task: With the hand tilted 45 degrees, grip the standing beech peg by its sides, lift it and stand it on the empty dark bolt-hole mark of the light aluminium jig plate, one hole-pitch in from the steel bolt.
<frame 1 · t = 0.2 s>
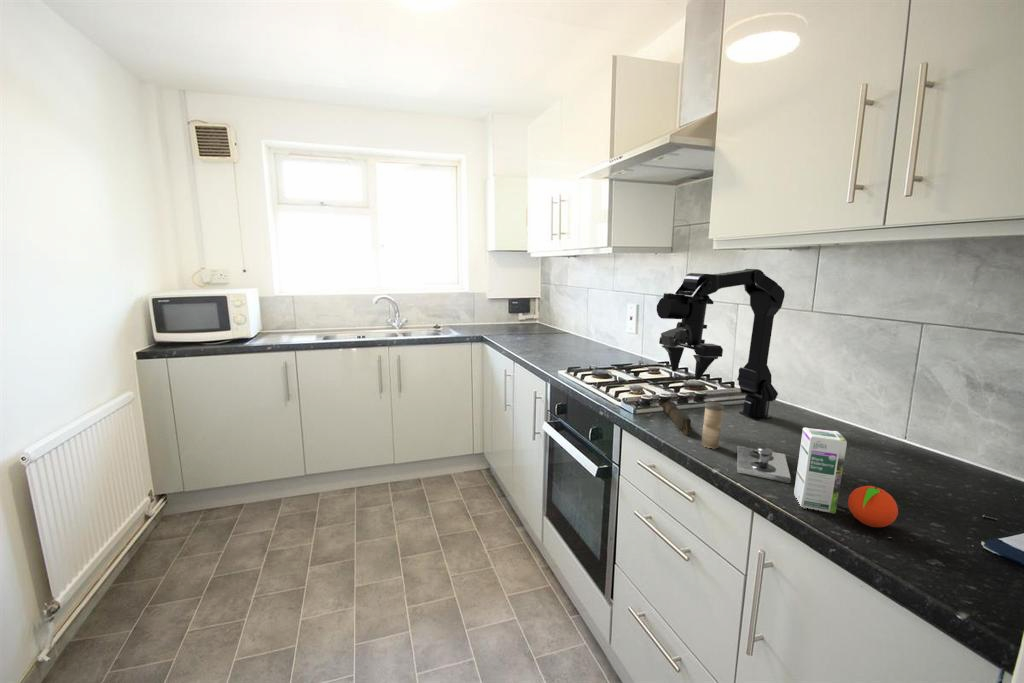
hand: (685, 375, 123), 15 cm above the worktop, tool pointing down, fingers open, 9 cm apart
jig plate: (761, 465, 102), on the worktop
syrup box: (813, 504, 86), on the worktop
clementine: (867, 525, 79), on the worktop
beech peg: (709, 445, 112), on the worktop
hand tool: (679, 425, 127), on the worktop
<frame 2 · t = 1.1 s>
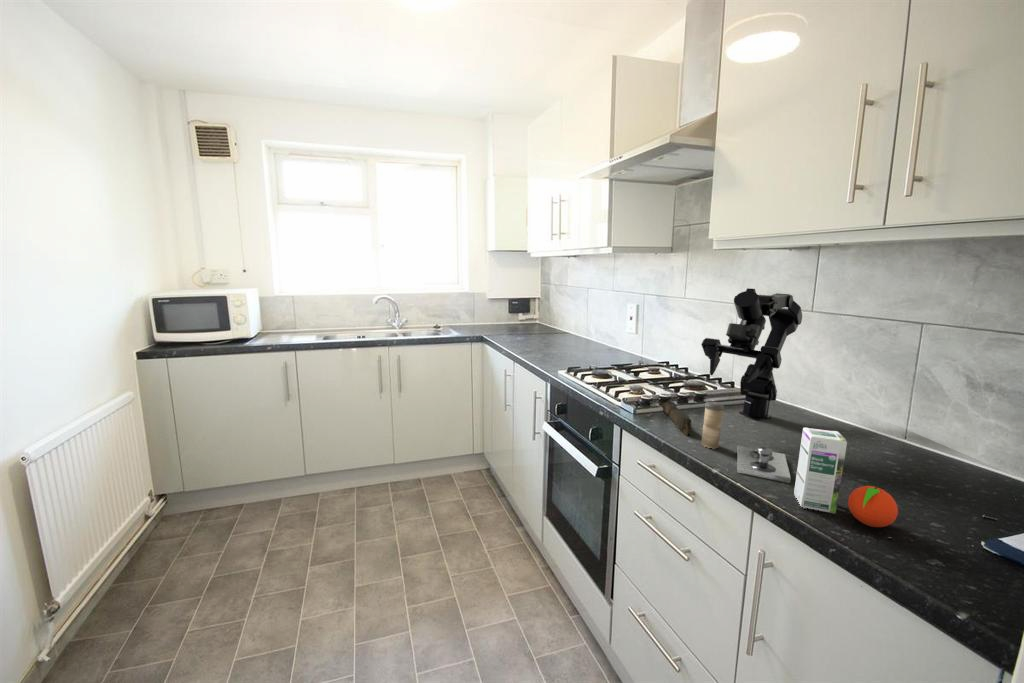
hand: (728, 377, 115), 16 cm above the worktop, tool tilted 45°, fingers open, 9 cm apart
nothing on the worktop moved.
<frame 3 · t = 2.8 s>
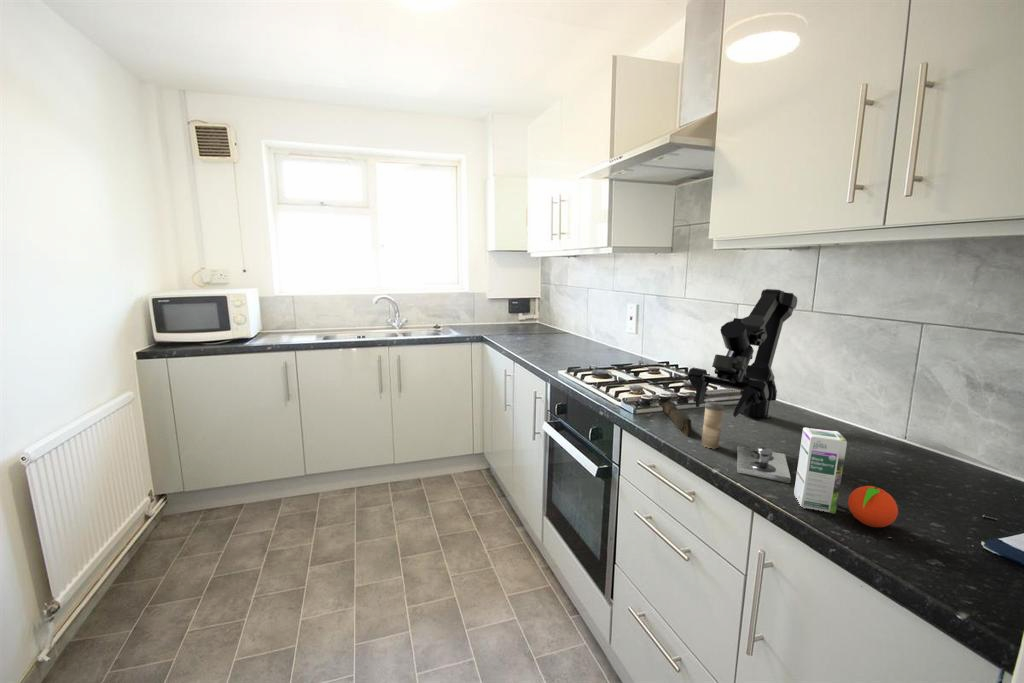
hand: (714, 410, 111), 9 cm above the worktop, tool tilted 45°, fingers open, 9 cm apart
nothing on the worktop moved.
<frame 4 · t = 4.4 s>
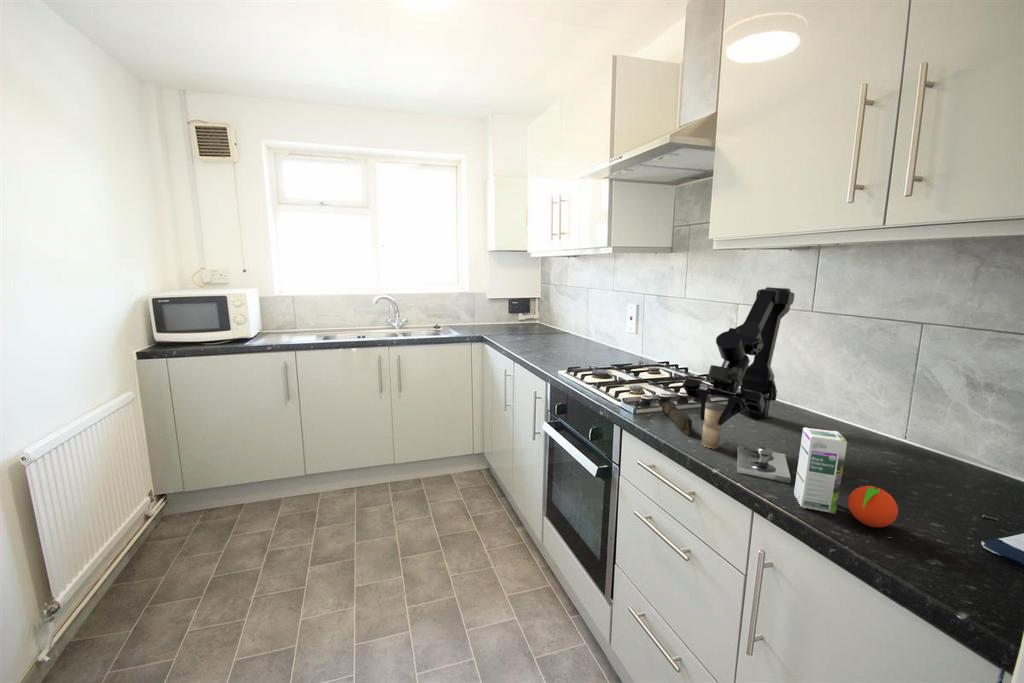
hand: (710, 422, 110), 7 cm above the worktop, tool tilted 45°, fingers closed on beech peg, 4 cm apart
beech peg: (709, 445, 112), on the worktop, touching gripper
everything else where it was.
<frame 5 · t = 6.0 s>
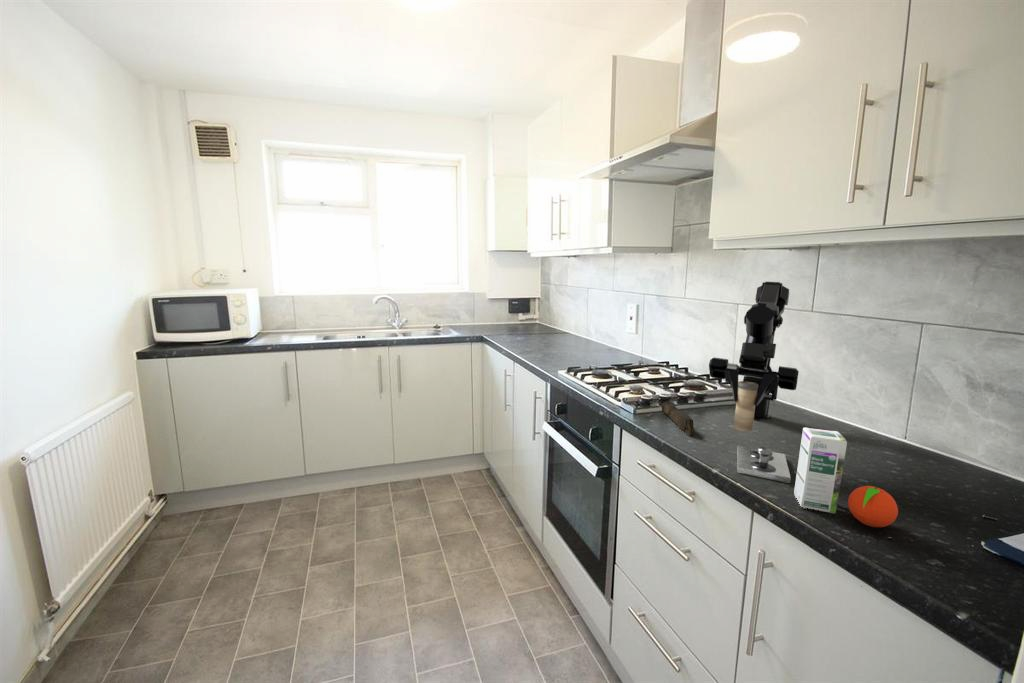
hand: (745, 403, 103), 14 cm above the worktop, tool tilted 45°, fingers closed on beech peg, 4 cm apart
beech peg: (742, 428, 106), point 7 cm above the worktop, touching gripper
everything else where it was.
when the fingers open (9 cm above the worktop, at t = 7.6 s): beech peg drops 1 cm, resting on jig plate.
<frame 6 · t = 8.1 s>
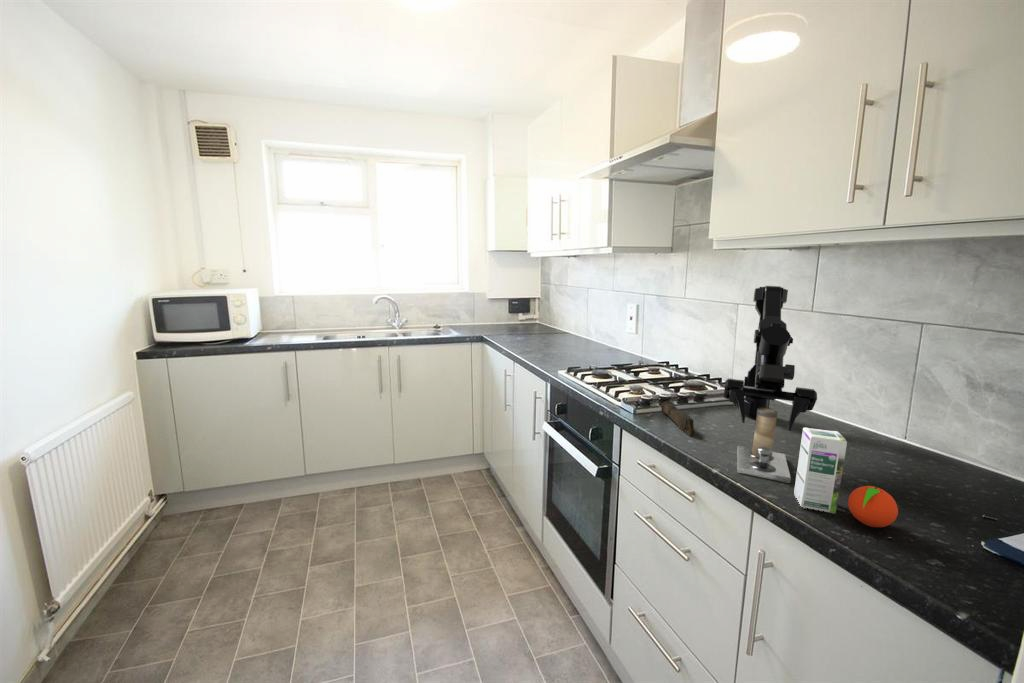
hand: (766, 426, 102), 9 cm above the worktop, tool tilted 45°, fingers open, 9 cm apart
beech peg: (761, 455, 104), point 1 cm above the worktop, touching jig plate
everything else where it was.
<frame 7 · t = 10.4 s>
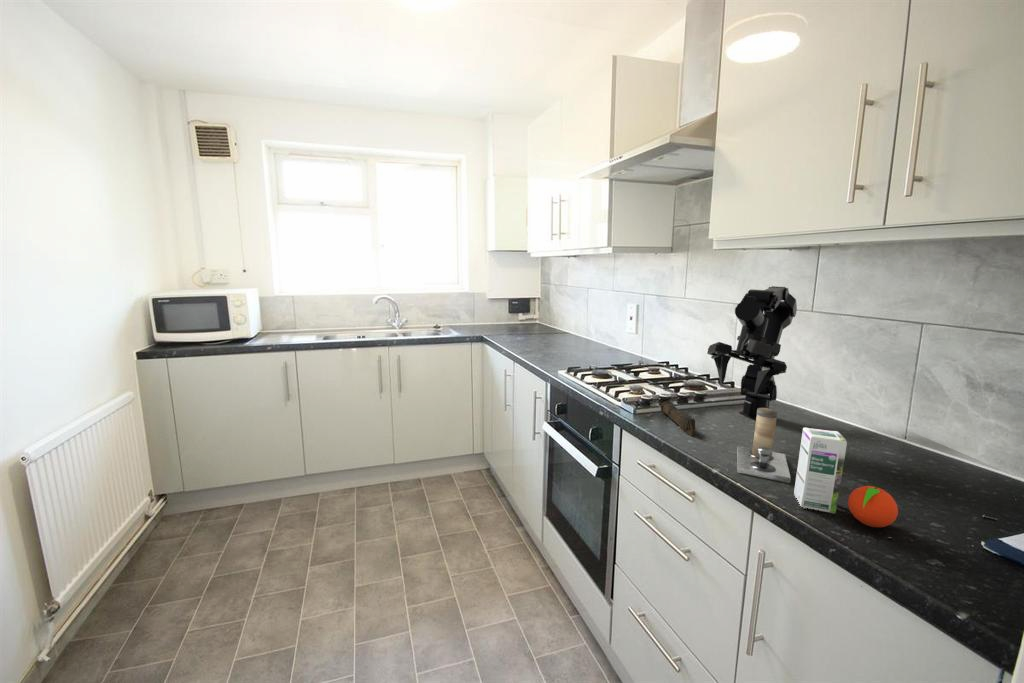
hand: (738, 389, 117), 13 cm above the worktop, tool tilted 25°, fingers open, 9 cm apart
nothing on the worktop moved.
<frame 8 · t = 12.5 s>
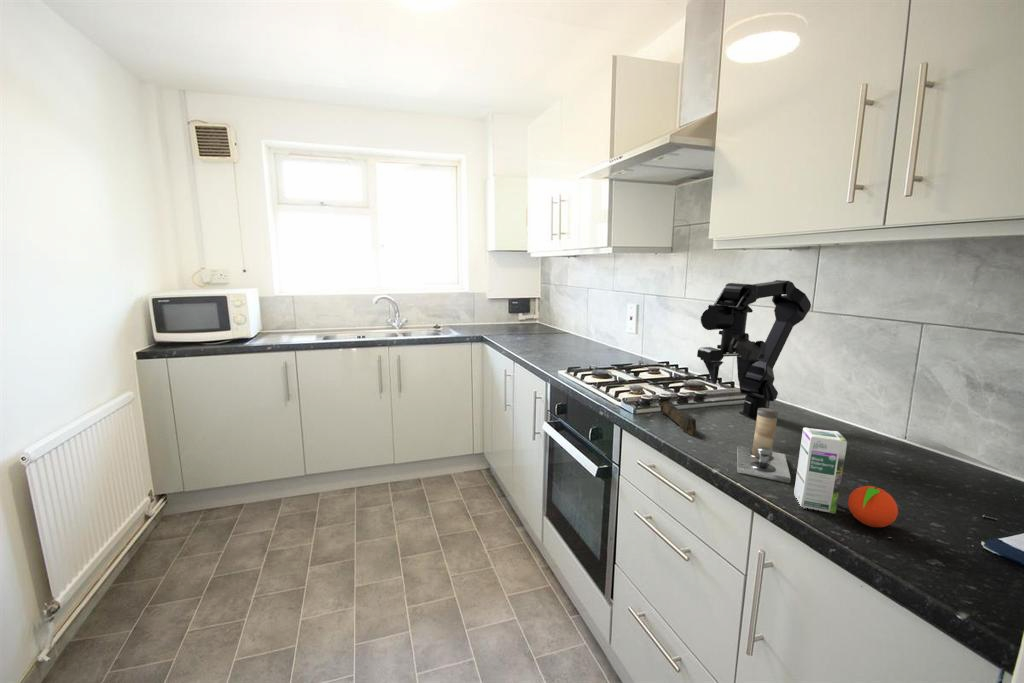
hand: (727, 382, 127), 12 cm above the worktop, tool pointing down, fingers open, 9 cm apart
nothing on the worktop moved.
at the end: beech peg 0.0 cm from the target spot, point 1.3 cm above the worktop; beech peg tilted 0°; the gripper is holding nothing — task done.
